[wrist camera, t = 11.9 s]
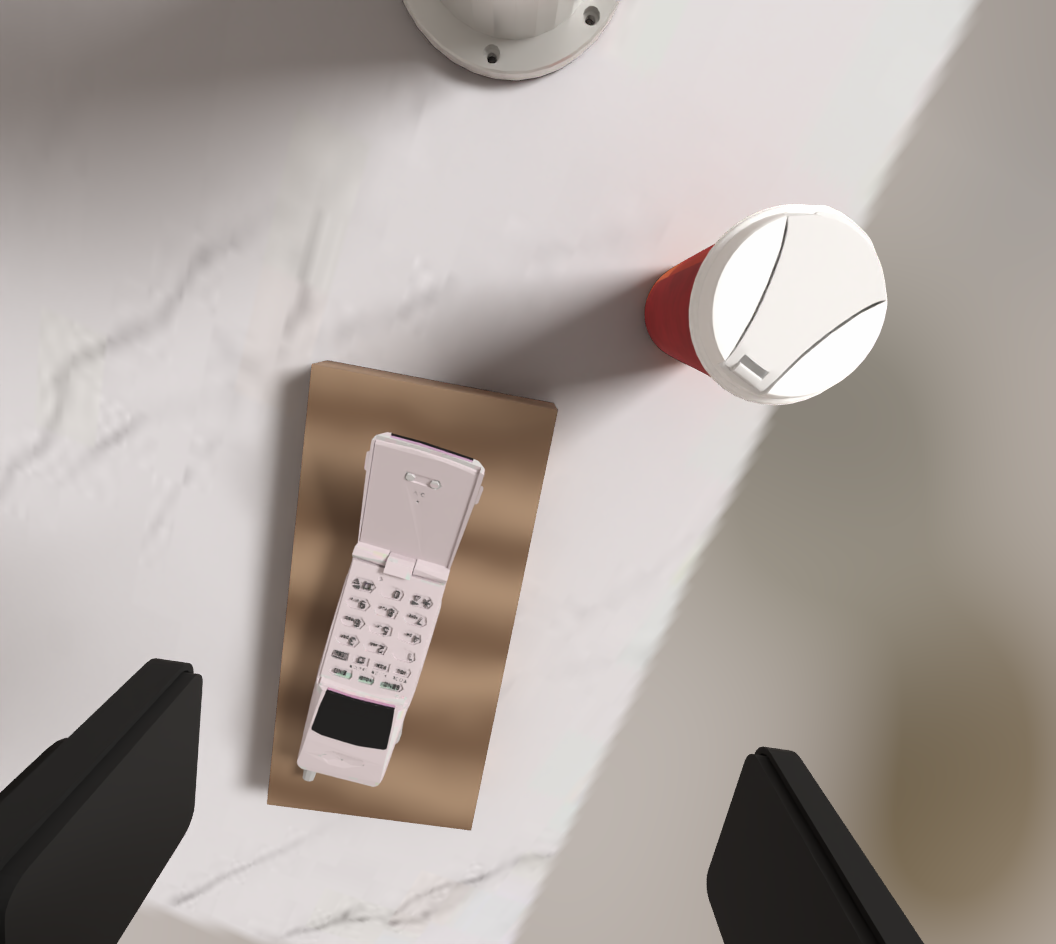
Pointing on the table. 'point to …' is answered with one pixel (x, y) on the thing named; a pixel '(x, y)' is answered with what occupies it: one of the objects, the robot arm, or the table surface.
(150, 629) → the table surface
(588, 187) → the table surface
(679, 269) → the paper cup
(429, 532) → the mobile phone
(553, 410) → the walnut stand
